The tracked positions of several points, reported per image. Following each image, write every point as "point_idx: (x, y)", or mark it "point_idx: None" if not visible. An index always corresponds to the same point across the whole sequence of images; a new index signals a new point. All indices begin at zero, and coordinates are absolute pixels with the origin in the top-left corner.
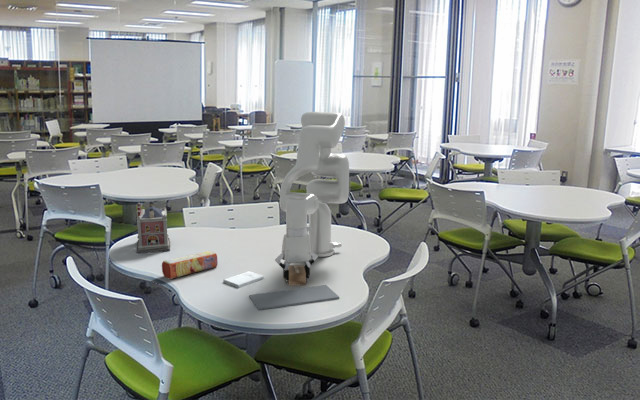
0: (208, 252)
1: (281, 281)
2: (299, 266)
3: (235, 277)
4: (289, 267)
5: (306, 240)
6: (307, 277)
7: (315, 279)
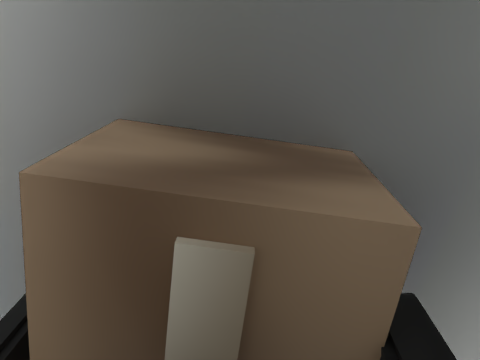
0: None
1: None
2: (291, 300)
3: None
4: (59, 309)
5: None
6: None
7: (460, 300)
